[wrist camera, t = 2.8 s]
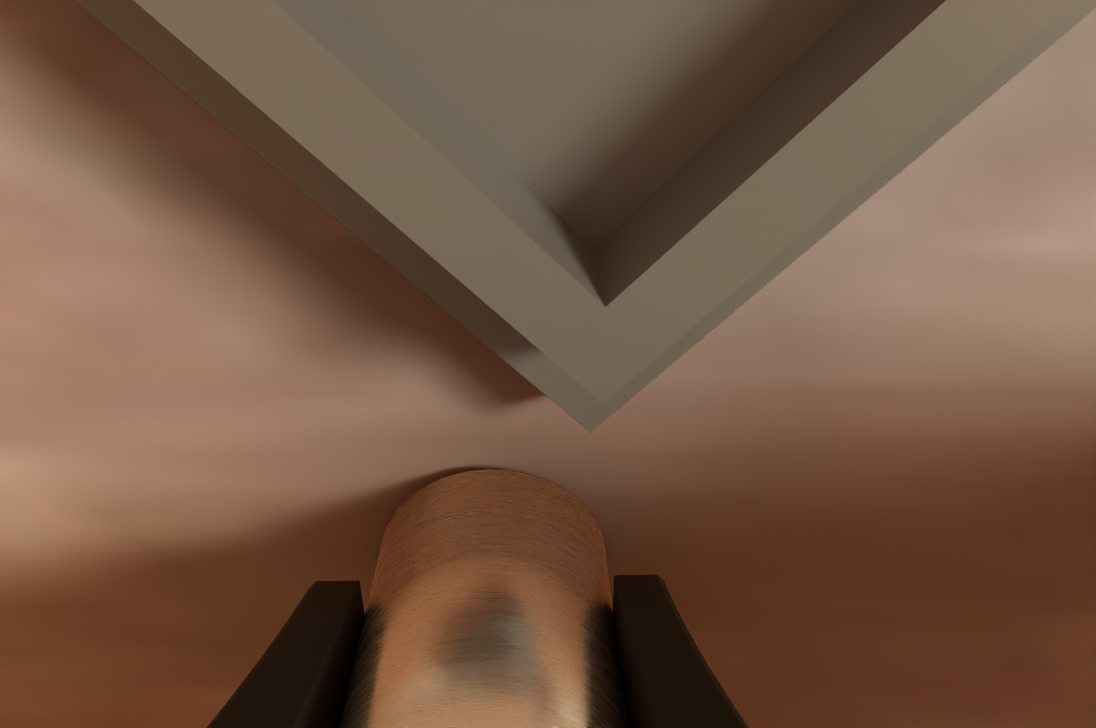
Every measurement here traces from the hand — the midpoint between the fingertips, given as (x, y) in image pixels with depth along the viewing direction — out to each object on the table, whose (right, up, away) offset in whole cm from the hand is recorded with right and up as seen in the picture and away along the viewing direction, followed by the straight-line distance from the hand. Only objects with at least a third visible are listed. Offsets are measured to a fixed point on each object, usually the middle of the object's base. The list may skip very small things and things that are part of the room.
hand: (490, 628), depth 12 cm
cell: (0, +1, +1) cm, 1 cm away
